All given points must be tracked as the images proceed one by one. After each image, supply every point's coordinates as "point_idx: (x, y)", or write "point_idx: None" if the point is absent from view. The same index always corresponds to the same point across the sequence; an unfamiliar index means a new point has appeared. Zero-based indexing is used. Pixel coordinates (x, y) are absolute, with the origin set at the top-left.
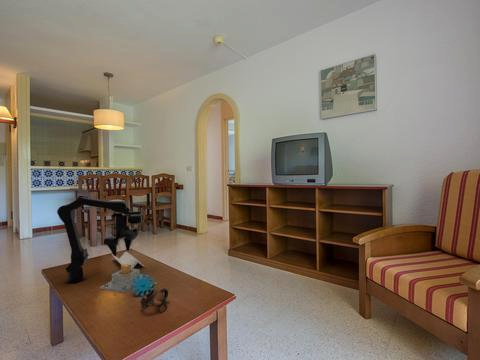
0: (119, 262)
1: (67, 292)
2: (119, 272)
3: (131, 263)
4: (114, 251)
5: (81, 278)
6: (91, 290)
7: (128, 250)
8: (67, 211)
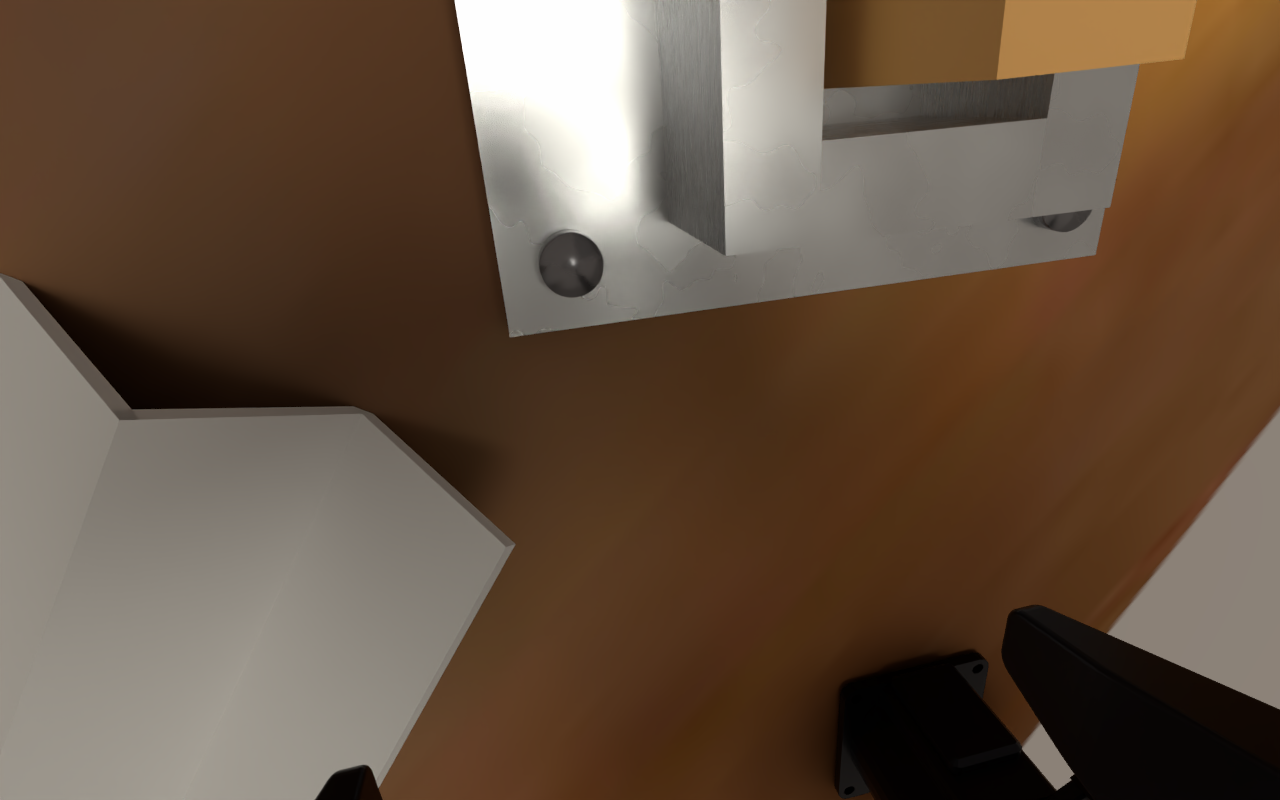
0: (416, 713)
1: (1157, 515)
2: (1001, 131)
3: (189, 586)
4: (1278, 739)
5: (927, 683)
6: (1107, 322)
7: (352, 772)
8: None
